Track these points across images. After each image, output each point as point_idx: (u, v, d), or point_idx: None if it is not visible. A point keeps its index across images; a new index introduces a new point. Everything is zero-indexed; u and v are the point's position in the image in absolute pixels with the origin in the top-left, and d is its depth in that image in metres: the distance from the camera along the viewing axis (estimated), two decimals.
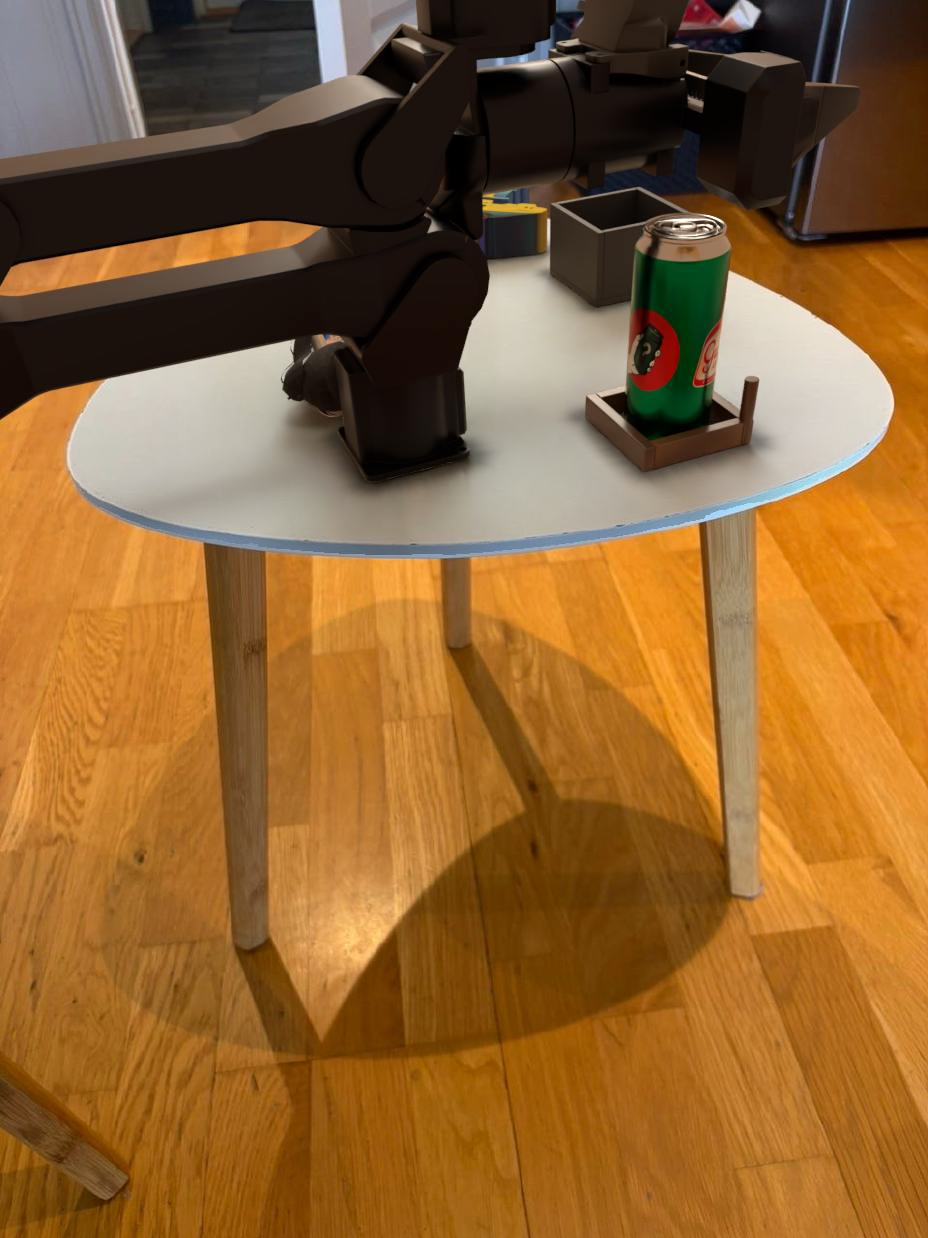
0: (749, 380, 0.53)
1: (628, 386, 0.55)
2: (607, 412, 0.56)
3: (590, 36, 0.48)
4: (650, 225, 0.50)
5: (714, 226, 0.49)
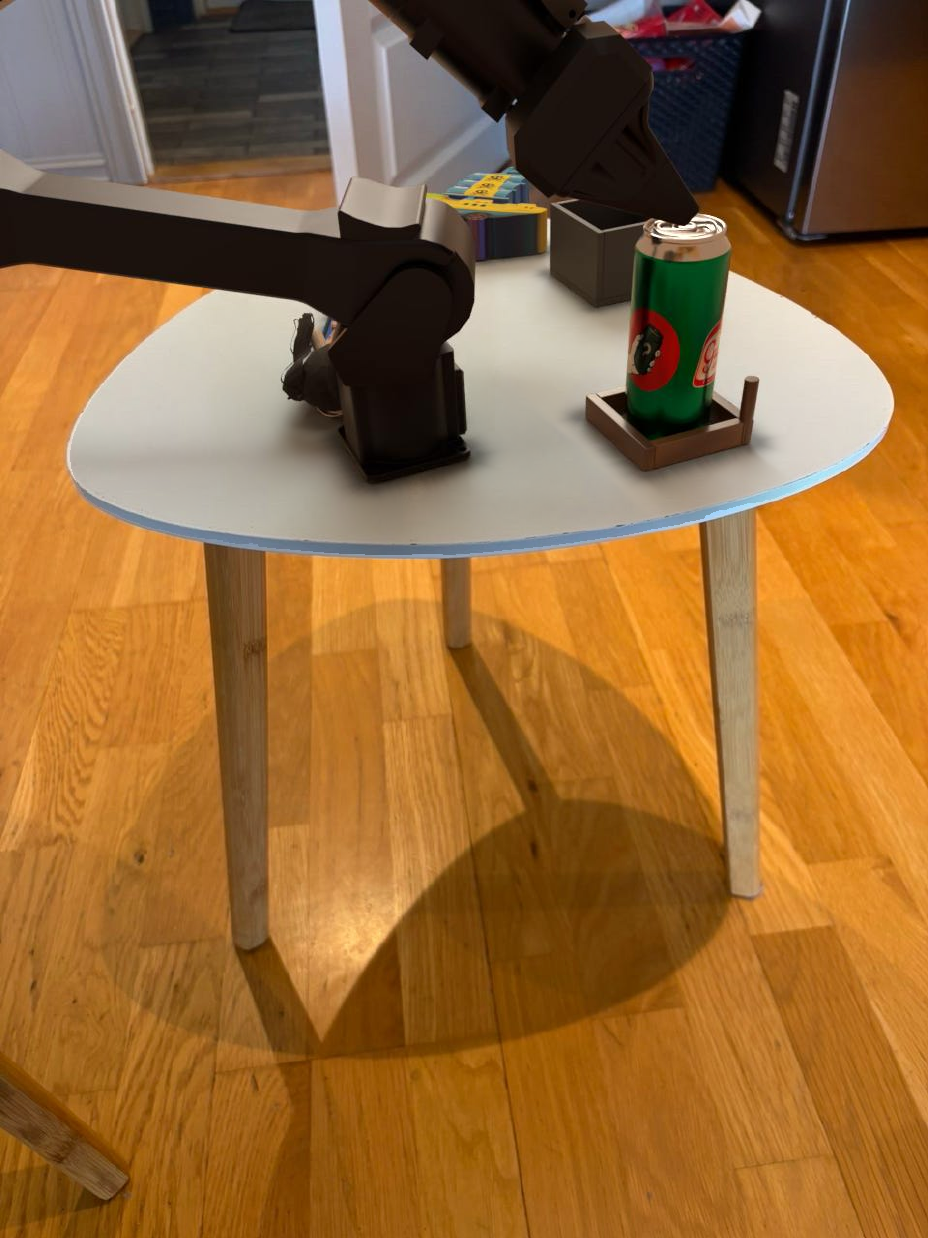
0: (749, 380, 0.53)
1: (628, 386, 0.55)
2: (607, 412, 0.56)
3: None
4: (650, 225, 0.50)
5: (714, 226, 0.49)
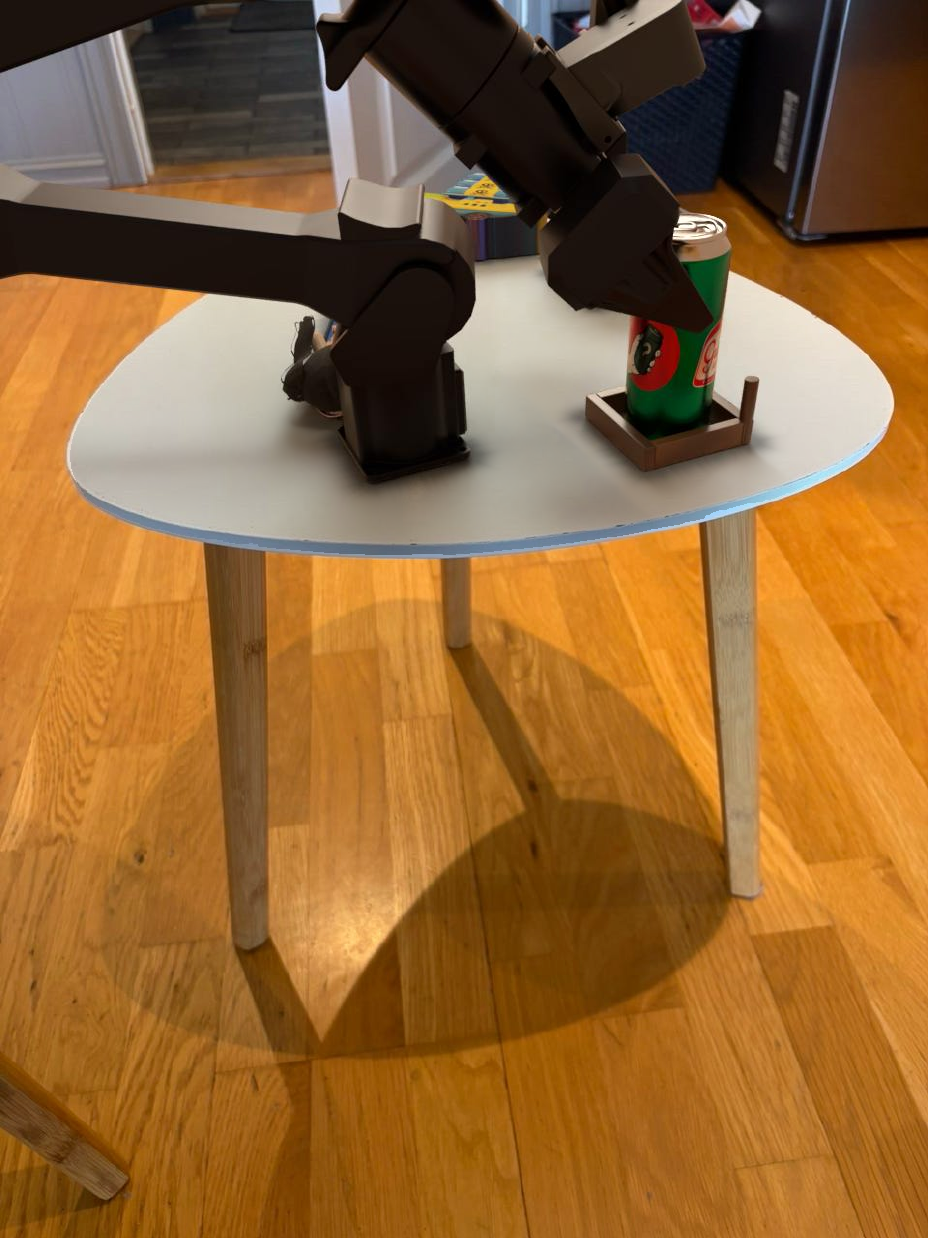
0: (749, 380, 0.53)
1: (628, 386, 0.55)
2: (607, 412, 0.56)
3: (565, 52, 0.45)
4: None
5: (714, 226, 0.49)
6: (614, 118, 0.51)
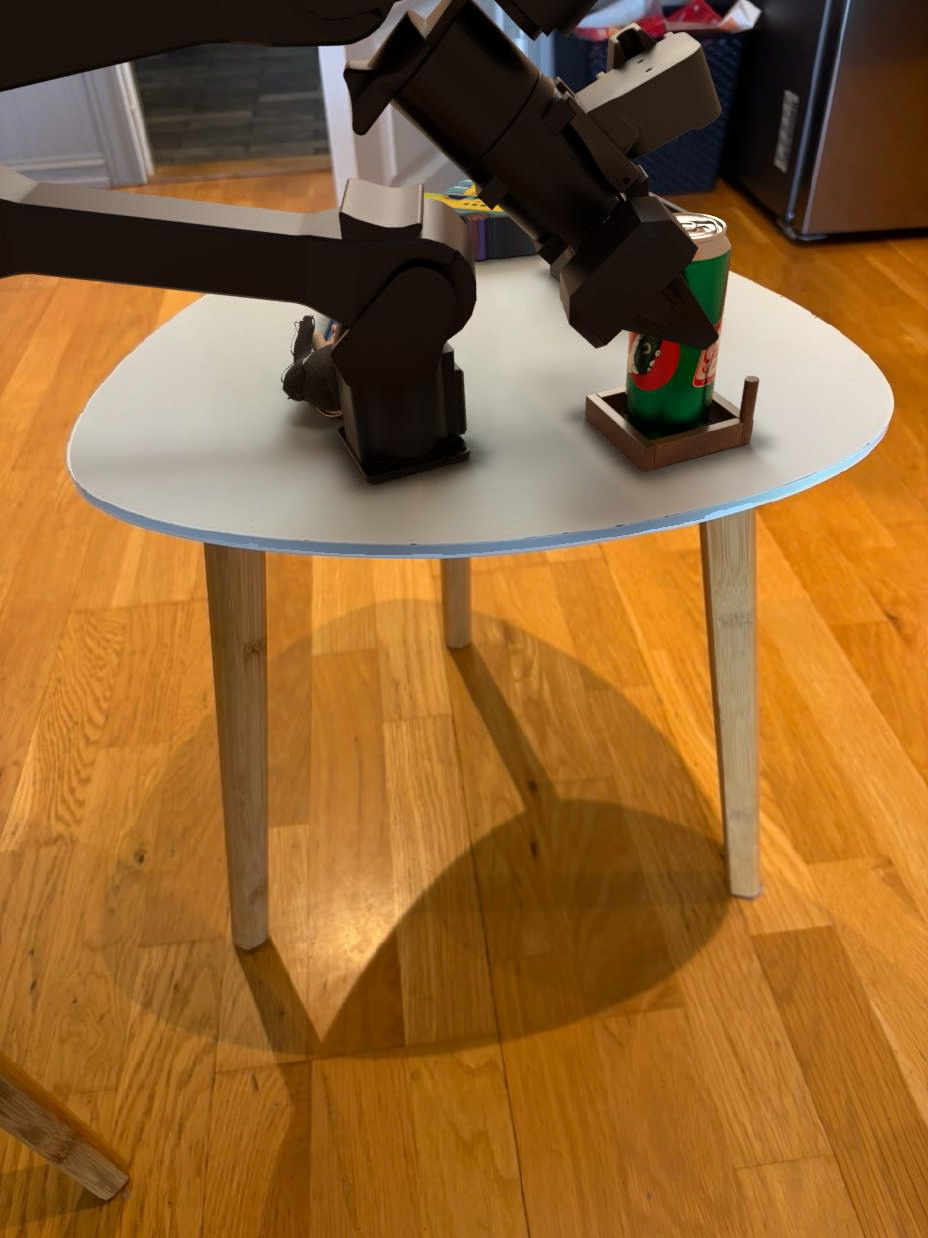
0: (749, 380, 0.53)
1: (628, 386, 0.55)
2: (607, 412, 0.56)
3: (584, 95, 0.46)
4: None
5: (714, 226, 0.49)
6: None
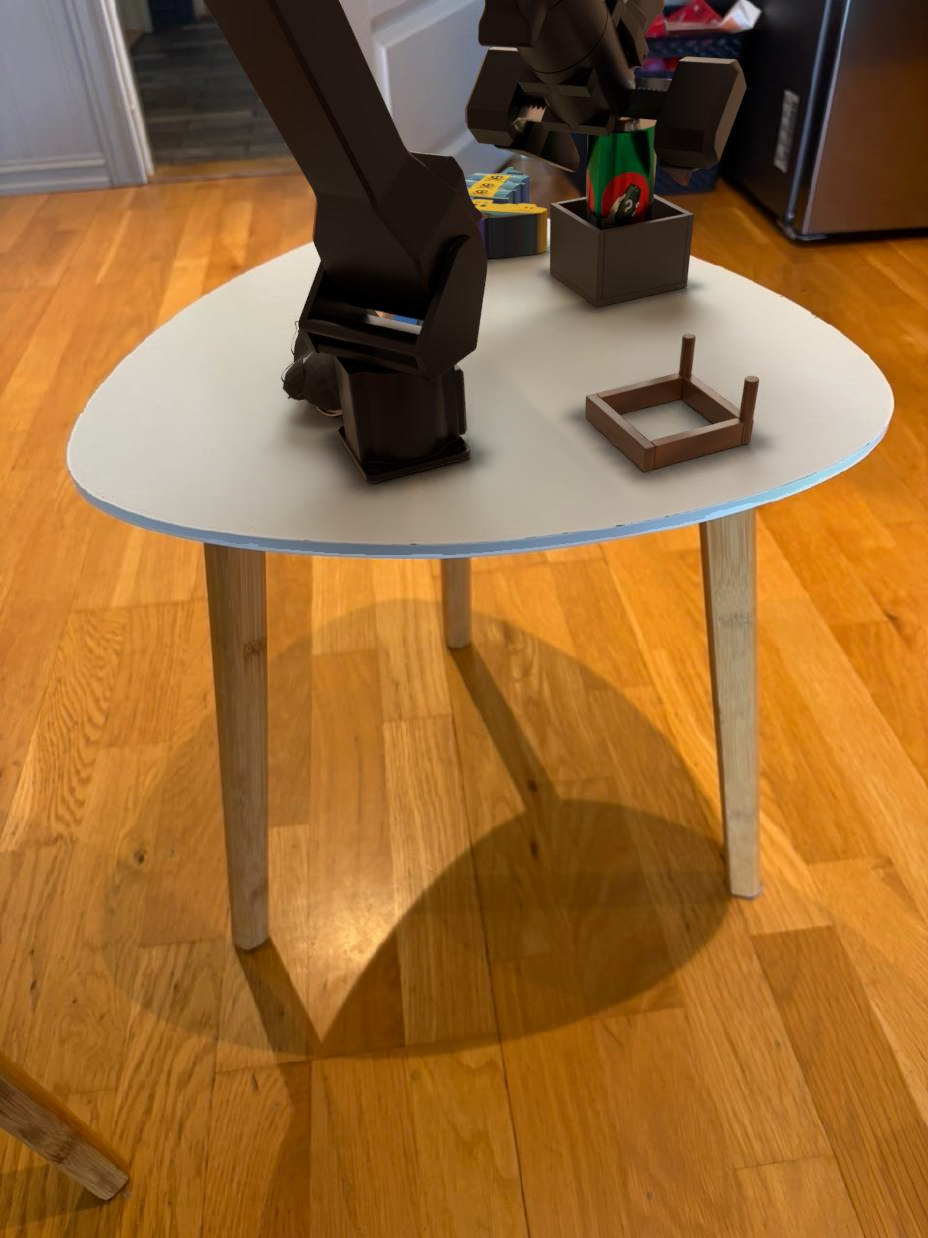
0: (749, 380, 0.53)
1: None
2: (607, 412, 0.56)
3: None
4: None
5: None
6: None
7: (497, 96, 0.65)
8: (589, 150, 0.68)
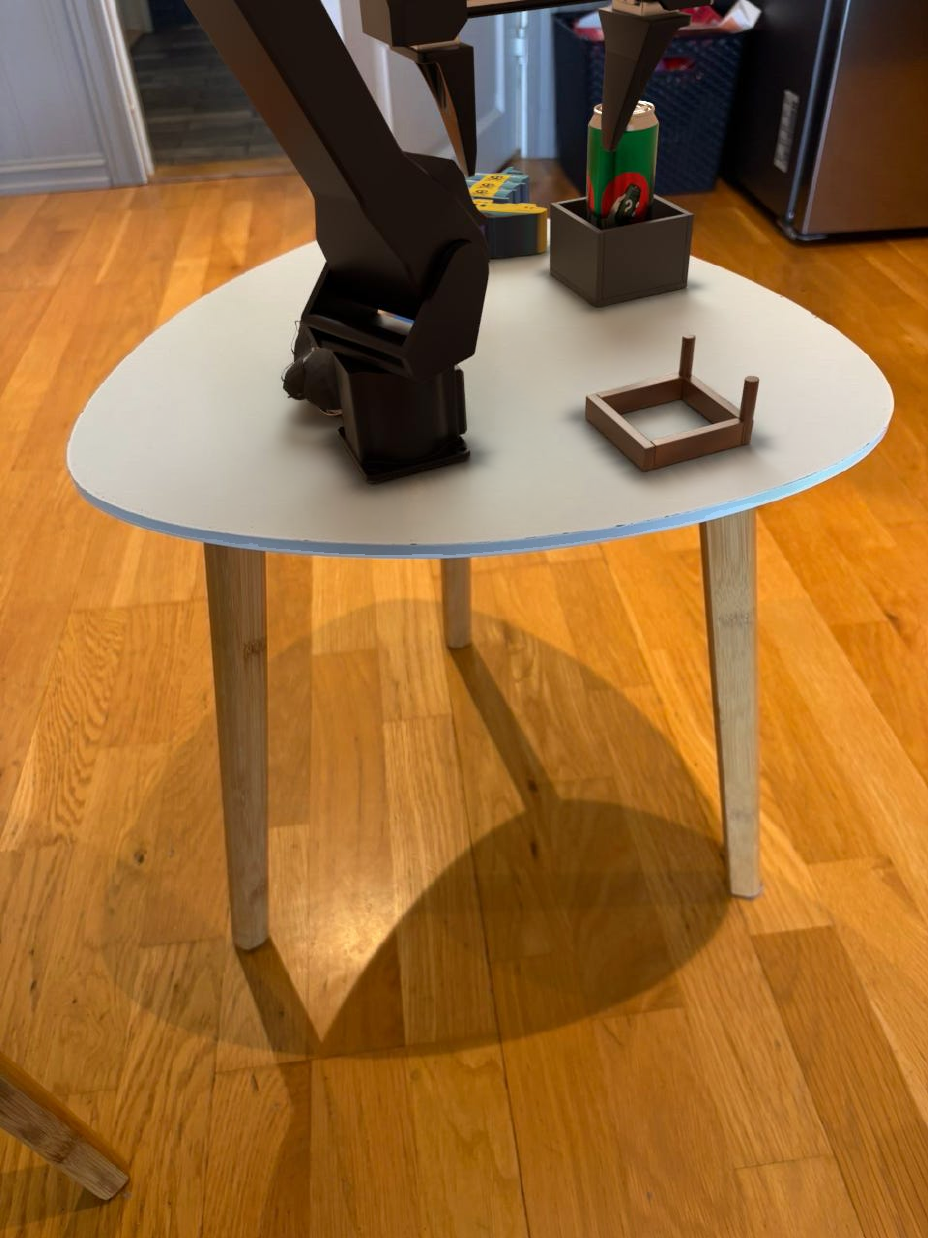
0: (749, 380, 0.53)
1: None
2: (607, 412, 0.56)
3: None
4: (600, 114, 0.67)
5: None
6: None
7: None
8: (589, 150, 0.68)
